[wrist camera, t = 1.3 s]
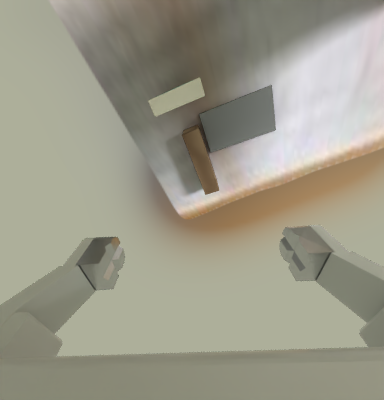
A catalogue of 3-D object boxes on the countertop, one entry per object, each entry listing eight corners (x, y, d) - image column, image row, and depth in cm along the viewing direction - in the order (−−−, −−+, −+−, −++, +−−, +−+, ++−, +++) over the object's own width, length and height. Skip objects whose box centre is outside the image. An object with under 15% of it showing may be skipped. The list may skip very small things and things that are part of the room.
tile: (198, 80, 26) (199, 76, 20) (202, 94, 27) (205, 95, 21) (159, 97, 28) (147, 100, 21) (164, 111, 29) (155, 117, 22)
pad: (270, 85, 27) (271, 85, 26) (274, 129, 30) (275, 130, 30) (199, 114, 29) (199, 114, 29) (210, 151, 33) (210, 152, 32)
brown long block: (198, 124, 30) (198, 128, 26) (216, 180, 36) (219, 190, 32) (183, 129, 31) (182, 135, 27) (204, 184, 37) (205, 194, 33)
